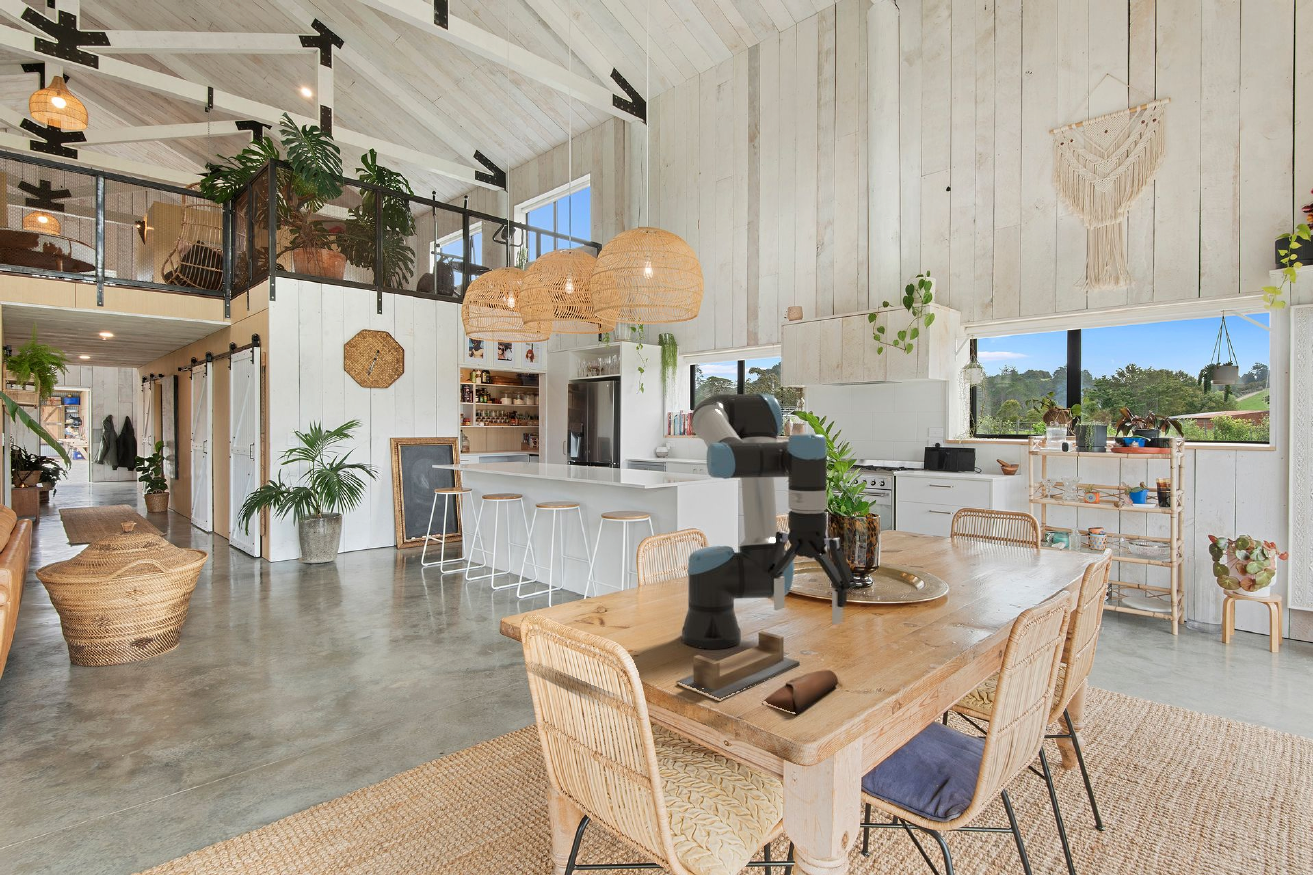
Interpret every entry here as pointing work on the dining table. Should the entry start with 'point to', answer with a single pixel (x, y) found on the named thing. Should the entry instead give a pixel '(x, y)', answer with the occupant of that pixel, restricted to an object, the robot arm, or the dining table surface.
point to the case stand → (740, 668)
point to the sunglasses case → (803, 690)
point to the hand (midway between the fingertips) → (807, 615)
